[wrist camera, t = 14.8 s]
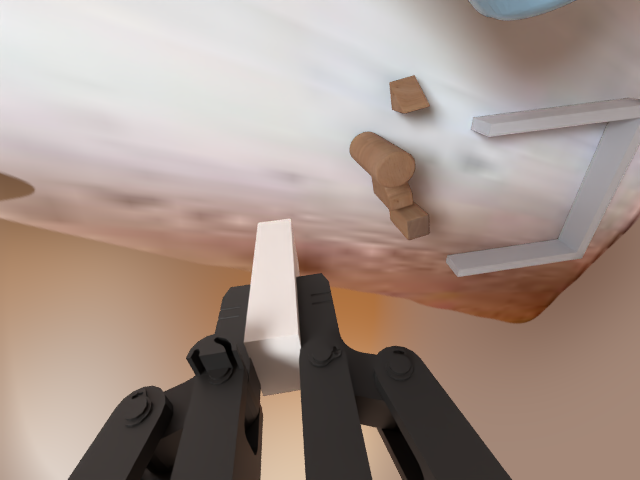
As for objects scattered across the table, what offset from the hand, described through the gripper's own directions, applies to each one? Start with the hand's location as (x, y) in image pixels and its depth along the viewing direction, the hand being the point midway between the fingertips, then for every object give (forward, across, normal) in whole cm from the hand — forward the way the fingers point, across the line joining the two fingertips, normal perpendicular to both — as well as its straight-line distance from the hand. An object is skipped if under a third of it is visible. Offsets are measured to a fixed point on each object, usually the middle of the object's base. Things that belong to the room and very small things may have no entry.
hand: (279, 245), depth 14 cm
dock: (+26, +35, -14) cm, 46 cm away
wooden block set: (+27, +13, -6) cm, 30 cm away
